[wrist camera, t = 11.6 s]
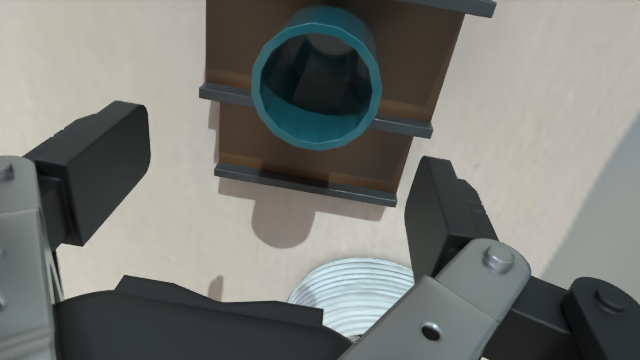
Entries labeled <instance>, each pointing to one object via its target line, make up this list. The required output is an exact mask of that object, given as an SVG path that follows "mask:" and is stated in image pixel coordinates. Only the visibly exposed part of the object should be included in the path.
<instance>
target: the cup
mask: <svg viewBox="0 0 640 360" xmlns="http://www.w3.org/2000/svg"><path fill="white" fill-rule="evenodd" d="M251 95H252V98H253V101H254V104H255V107H256V110H257V113H258V115H259V117H260V118H261V120H262V121H263V122H264V123H265V124H266V126H267V127H268V128H269V129H270V130H271V131H272V133H273V134H275V136H277V137H279V138H281V139H282V140H284V141H286V142H288V143H289V144H291V145H293V146H295V147H299V148H305V149H310V150H316V151H318V150H319V151H321V150H326V149H332V148H337V147H341V146H344V145H345V144H347V143H349V142H350V141H352V140H354V139H355V138H357V137H359V136H360V135H362V134H363V133H364V131H365V130H366V129H367V127H368V126H369V124H370V123H371V122H372V120H373V119H374V118H375V116H376V114H377V111H378V107H379V103H380V99H381V95H382V84H381V77H380V70H379V62H378V55H377V47H376V41H375V35H374V29H373V26H372V25H371V22H370V20H369V19H368V17H367V15H366V14H365V13H364V11H363V10H362V9H361V8H360V7H359V6H357V5H356V4H355V3H353V2H351V1H350V0H308V1H306V2H304V3H303V4H301V5H300V6H299V7H298V8H297V9H296V10H294V11H293V12H292V13H291V14H290V15H289V17H288V18H287V19H286V20H285V21H284V23H283V24H282V25H281V26H280V27H279V28H278V30H277V31H276V32H275V33H274V34H273V36H272V37H271V38H270V39H269V40H268V41H267V43H266V44H265V45H264V46H263V48H262V50H261V52H260V54H259V56H258V58H257V60H256V62H255V64H254V66H253V68H252V81H251Z"/></svg>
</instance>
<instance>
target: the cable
mask: <svg viewBox="0 0 640 360" xmlns="http://www.w3.org/2000/svg"><path fill="white" fill-rule="evenodd" d="M414 284H415V283H414V276H413V270H411V269H408V268H406V267H404V266H402V265H399V264H396V263H394V262H390V261H386V260H381V259H374V258H348V259H342V260H337V261H333V262H330V263H327V264H324V265H322V266H320V267H318V268H316V269H315V270H313V271H312V272H311V273H309V274H308V275H307V276H306V277H305V278H304V279H303V281H302V282H301V283H300V284H299V285H298V286H297V287H296V289H295V290H294V291H293V292H292V294H291V296H290V297H289V300H288V302H287V303H291V304H297V305H303V306H309V307H315V308H321V309H324V313H323V324H322V325H324V326H327V327H329V328H331V329H333V330H335V331H337V332H338V333H340V334H342V335H343V336H345V337H346V338H347V337H351V336H355V335H362V334H364V333H365V332H366V331H367V330H368V329H369V328H370V327H371V326H372V325H373V324H374V323H375V322H376V321H377V320H378V319H379V318H380V317H381V316H382V315H383V314H384V313H385V312H387V311H388V310H389V309H390V308H391V307H392V306H393V305H394V304H395V303H396V302H397V301H398V300H399V299H400V298H401V297H402V296H403V295H404V294H405V293H406V292H407V291H408V290H409V289H410V288H411V287H412V286H413V285H414Z"/></svg>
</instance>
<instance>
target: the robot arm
mask: <svg viewBox="0 0 640 360" xmlns="http://www.w3.org/2000/svg"><path fill="white" fill-rule="evenodd" d="M150 157H151V152H150V138H149V124H148V113H147V109H146V107H145V106H144V105H140V104H134V103H128V102H123V101H114V102H112V103H111V104H109V105H108V106H107V107H105V108H104V109H102V110H101V111H99V112H98V113H97V114H92V115H89V116H86V117H83V118H80V119H77V120H75V121H74V122H72V123H71V124H69V125H68V126H66V127H65V128H64V130H61V131H59V132H58V133H56V134H55V135H54V137H50V138H49V139H47V140H46V141H44V142H43V143H41V144H40V145H38V146H37V147H36V148H34V149H33V150H31V151H30V152H28V153H27V154H25V155H24V156H22V157H19V156H0V360H481V358H482V357H484V358H487V359H489V360H640V305H639V304H638V303H637V302H636V301H635V300H634V299H633V298H632V297H631V296H629V295H628V294H627V293H625V292H624V291H622V290H621V289H619V288H618V287H616V286H614V285H612V284H610V283H608V282H606V281H603V280H600V279H596V278H591V277H580V278H577V279H576V280H575V281H574V282H573V283H572V285H571V286H570V288H569V289H568V290H566V289H563V288H561V287H558V286H555V285H553V284H551V283H548V282H545V281H543V280H540V279H538V278H536V277H534V276H532V275H531V268H530V265H529V263H528V262H527V260H526V259H525V258H524V257H523V256H522V255H521V254H520V253H519V252H517V251H516V250H515V249H513V248H512V247H510V246H508V245H506V244H504V243H502V242H499V240H498V237H497V235H496V233H495V231H494V229H493V226H492V224H491V222H490V220H489V218H488V215H487V214H486V211H485V209H484V207H483V205H481V203H482V202H481V200H480V198H479V196H478V193H477V191H476V190H475V189H474V188H473V187H472V186H471V185H470V184H468V183H467V182H466V181H465V180H462V179H457V176H456V174H455V171H454V169H453V166H452V164H451V162H450V160H445V159H439V158H434V157H428V156H423V157H422V158H421V160H420V163H419V165H418V168H417V171H416V174H415V177H414V180H413V183H412V186H411V189H410V192H409V195H408V199H407V202H406V206H405V214H404V220H405V227H406V233H407V239H408V245H409V252H410V258H411V264H412V270H413V276H414V283H415V284H414V285H413V286H412V287H411V288H410V289H409V290H408V291H407V292H406V293H405V294H404V295H403V296H402V297H401V298H400V299H399V300H398V301H397V302H396V303H395V304H394V305H393V306H392V307H391V308H390V309H389V310H388V311H387V312H385V313H384V314H383V315H382V316H381V317H380V318H379V319H378V320H377V321H376V322H375V323H374V324H373V325H372V326H371V327H370V328H369V329H368V330H367V331H366V332H365V333H364V334H363V335H362V336H361V337H360V338H359V339H358V340H357V341H356V342H355V343H353V342H352V341H351V340H349V339H348V338H346V337H345V336H343V335H342V334H340V333H338V332H337V331H335V330H333V329H331V328H329V327H327V326H324V325H322V324H323V313H324V309H321V308H315V307H309V306H303V305H297V304H291V303H286V302H280V301H254V302H227V303H226V302H218V301H215V300H213V299H210V298H208V297H206V296H203V295H201V294H198V293H196V292H193V291H191V290H189V289H186V288H184V287H181V286H179V285H176V284H174V283H169V282H163V281H157V280H151V279H145V278H139V277H134V276H128V275H124V276H123V278H122V279H121V281H120V282H119V284H118V285H117V287H116V288H115V290H106V291H99V292H92V293H88V294H83V295H79V296H76V297H73V298H69V299H66V300H65V297H64V291H63V285H62V279H61V273H60V267H59V261H58V256H57V252H56V248H57V247H58V246H59V245H60V244H61V243H64V244H70V245H75V246H81V247H83V246H84V245H85V243H86V242H87V241H88V240H89V239H90V238H91V236H92V235H93V234H94V233H95V232H96V231H97V230H98V228H99V227H100V226H101V225H102V224H103V223H104V221H105V220H106V219H107V218H108V217H109V216H110V214H111V213H112V212H113V211H114V210H115V209H116V208H117V206H118V205H119V204H120V203H121V202H122V201H123V199H124V198H125V197H126V196H127V195H128V194H129V193H130V191H131V190H132V189H133V188H134V187H135V186H136V184H137V183H138V182H139V181H140V180H141V179H142V177H143V176H144V175H145V174H146V172H147V170H148V167H149V164H150Z"/></svg>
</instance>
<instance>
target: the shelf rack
mask: <svg viewBox="0 0 640 360" xmlns="http://www.w3.org/2000/svg"><path fill="white" fill-rule="evenodd" d="M306 1H308V0H206V82H205V83H204V84H203V85H202V86H201V87H200V88H199V98H203V99H208V100H214V101H219V102H220V127H219V162H218V164H217V165H216V167H215V169H214V176H219V177H225V178H230V179H236V180H242V181H247V182H253V183H259V184H264V185H270V186H276V187H281V188H287V189H293V190H298V191H304V192H310V193H315V194H321V195H327V196H332V197H338V198H344V199H349V200H355V201H361V202H366V203H372V204H378V205H383V206H389V207H396V204H397V196H396V192H397V189H398V186H399V182H400V179H401V176H402V173H403V169H404V166H405V163H406V159H407V156H408V153H409V150H410V146H411V143H412V140H413V136H416V137H422V138H428V139H430V138H431V135H432V132H433V127H432V125H431V119H432V116H433V113H434V110H435V106H436V103H437V100H438V97H439V94H440V91H441V88H442V85H443V82H444V79H445V75H446V72H447V69H448V66H449V63H450V60H451V57H452V54H453V51H454V47H455V44H456V41H457V38H458V35H459V32H460V29H461V26H462V23H463V19H464V16H465V14H470V15H476V16H481V17H487V18H491V17H492V15H493V13H494V10H495V7H496V4H497V3H496V2H495V1H493V0H350V1H351V2H353V3H355V4H356V5H357V6H359V7H360V8H361V9H362V10H363V11H364V13H365V14H366V15H367V17H368V19H369V20H370V22H371V25H372V26H373V29H374V35H375V41H376V47H377V55H378V62H379V70H380V77H381V84H382V95H381V99H380V103H379V107H378V111H377V114H376V116H375V118H374V119H373V120H372V122H371V123H370V124H369V126H368V127H367V129H366V130H365V131H364V133H363V134H362V135H360V136H359V137H357V138H355V139H354V140H352V141H350V142H349V143H347V144H345V145H344V146H341V147H337V148H332V149H326V150H321V151H319V150H318V151H316V150H310V149H305V148H299V147H295V146H293V145H291V144H289V143H288V142H286V141H284V140H282V139H281V138H279V137H277V136H275V134H273V133H272V131H271V130H270V129H269V128H268V127H267V126H266V124H265V123H264V122H263V121H262V120H261V118H260V117H259V115H258V113H257V110H256V107H255V104H254V101H253V98H252V95H251V81H252V68H253V66H254V64H255V62H256V60H257V58H258V56H259V54H260V52H261V50H262V48H263V46H264V45H265V44H266V43H267V41H268V40H269V39H270V38H271V37H272V36H273V34H274V33H275V32H276V31H277V30H278V28H279V27H280V26H281V25H282V24H283V23H284V21H285V20H286V19H287V18H288V17H289V15H290V14H291V13H292V12H293V11H294V10H296V9H297V8H298V7H299V6H300V5H301V4H303V3H304V2H306Z"/></svg>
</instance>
